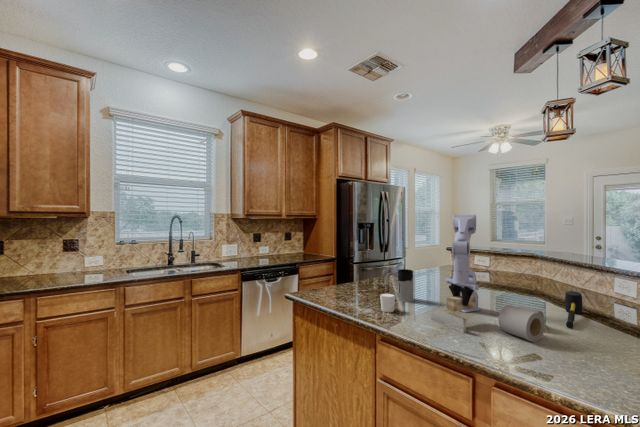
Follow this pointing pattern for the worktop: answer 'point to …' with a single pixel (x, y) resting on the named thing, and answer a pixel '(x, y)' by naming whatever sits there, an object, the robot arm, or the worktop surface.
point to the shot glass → (387, 302)
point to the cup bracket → (448, 319)
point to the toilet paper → (522, 323)
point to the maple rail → (459, 303)
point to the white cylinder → (531, 309)
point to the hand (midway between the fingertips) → (461, 304)
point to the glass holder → (404, 285)
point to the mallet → (572, 306)
